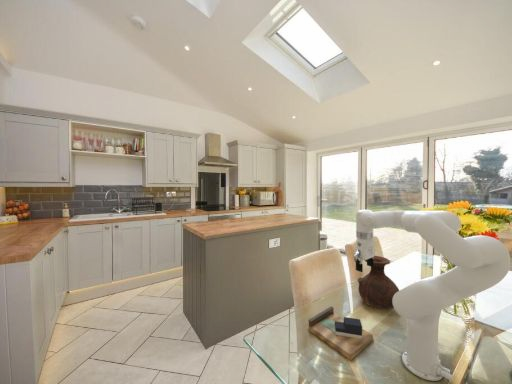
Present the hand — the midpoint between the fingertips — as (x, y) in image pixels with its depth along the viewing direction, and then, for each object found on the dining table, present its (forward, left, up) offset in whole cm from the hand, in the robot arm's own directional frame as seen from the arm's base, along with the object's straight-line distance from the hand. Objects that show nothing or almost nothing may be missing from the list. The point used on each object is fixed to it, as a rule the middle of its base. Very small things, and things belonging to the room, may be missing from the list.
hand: (364, 268), depth 107 cm
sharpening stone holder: (+3, +17, -29) cm, 34 cm away
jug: (+4, -23, -29) cm, 37 cm away
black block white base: (0, +16, -26) cm, 31 cm away
